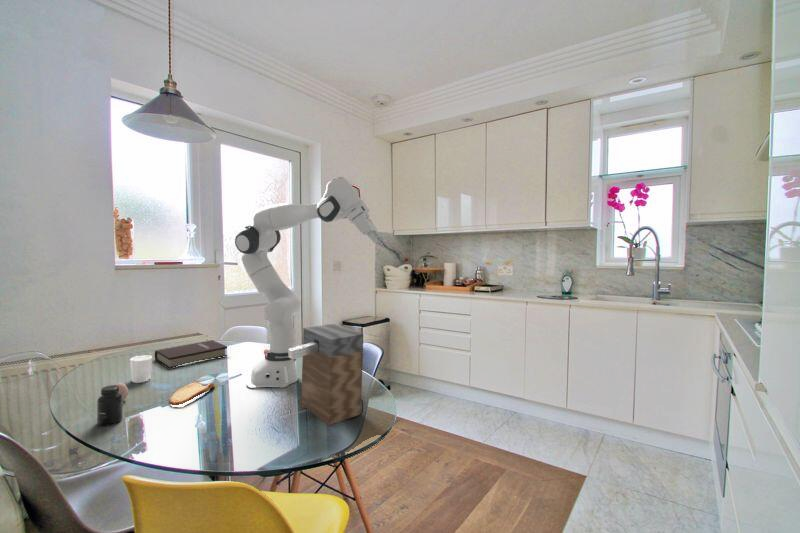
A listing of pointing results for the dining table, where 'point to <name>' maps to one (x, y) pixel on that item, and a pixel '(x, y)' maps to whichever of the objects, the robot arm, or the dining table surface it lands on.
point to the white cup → (141, 368)
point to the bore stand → (333, 373)
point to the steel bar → (303, 350)
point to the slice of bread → (189, 392)
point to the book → (189, 353)
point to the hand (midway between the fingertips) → (378, 242)
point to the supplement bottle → (109, 406)
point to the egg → (123, 389)
